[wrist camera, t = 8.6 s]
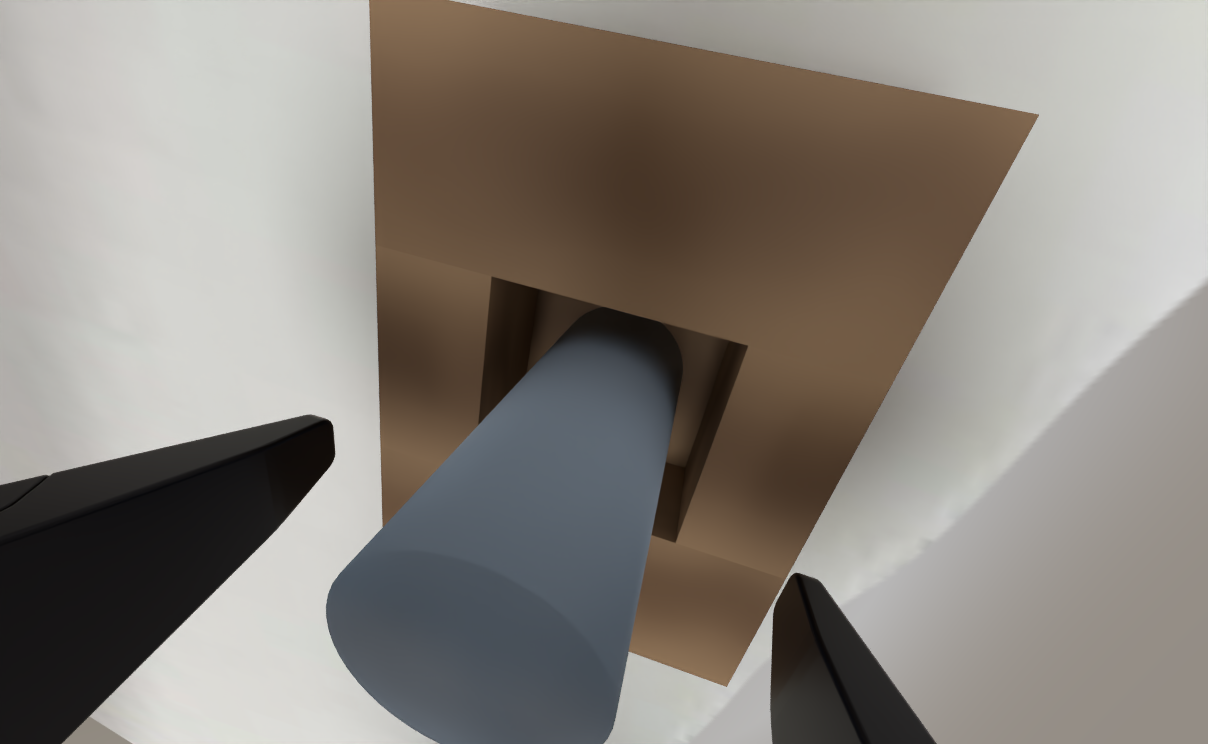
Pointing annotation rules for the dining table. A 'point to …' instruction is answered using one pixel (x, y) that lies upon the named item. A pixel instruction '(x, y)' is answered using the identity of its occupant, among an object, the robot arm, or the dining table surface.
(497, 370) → the socket block
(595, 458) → the pin
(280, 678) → the dining table surface
